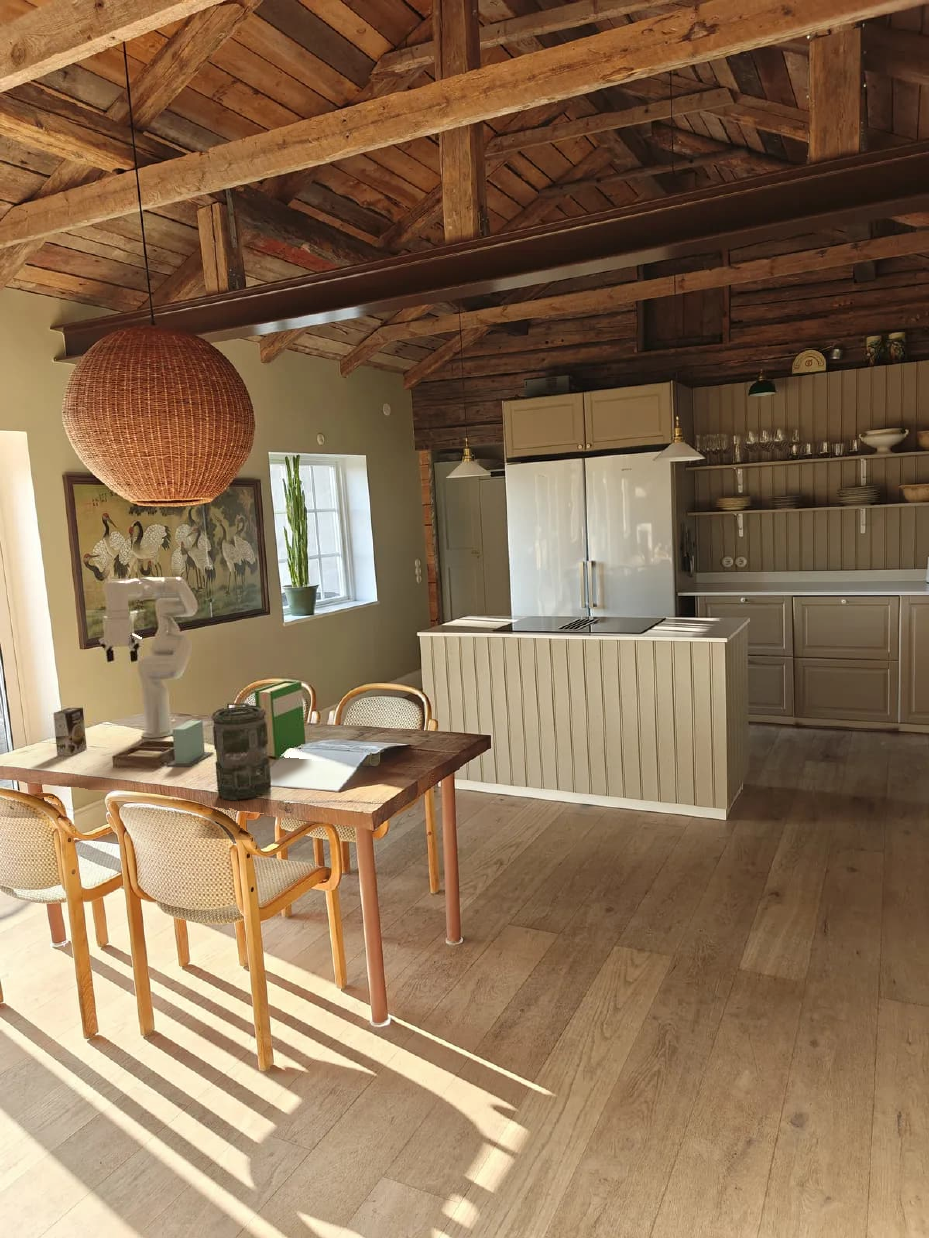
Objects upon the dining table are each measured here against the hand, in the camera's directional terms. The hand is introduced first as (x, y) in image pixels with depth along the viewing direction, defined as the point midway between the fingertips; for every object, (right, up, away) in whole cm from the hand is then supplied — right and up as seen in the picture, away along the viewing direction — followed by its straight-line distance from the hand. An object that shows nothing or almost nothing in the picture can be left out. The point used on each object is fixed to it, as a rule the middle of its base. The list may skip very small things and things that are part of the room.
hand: (122, 661), depth 317 cm
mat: (+29, -34, -14) cm, 47 cm away
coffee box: (-20, -34, +4) cm, 40 cm away
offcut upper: (+14, -33, -14) cm, 39 cm away
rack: (+15, -34, -11) cm, 39 cm away
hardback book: (+60, -32, -7) cm, 69 cm away
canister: (+58, -38, -53) cm, 87 cm away
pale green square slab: (+29, -33, -14) cm, 46 cm away
